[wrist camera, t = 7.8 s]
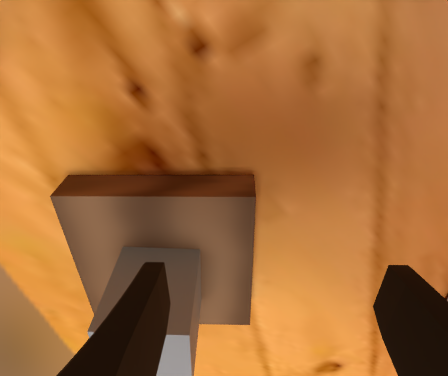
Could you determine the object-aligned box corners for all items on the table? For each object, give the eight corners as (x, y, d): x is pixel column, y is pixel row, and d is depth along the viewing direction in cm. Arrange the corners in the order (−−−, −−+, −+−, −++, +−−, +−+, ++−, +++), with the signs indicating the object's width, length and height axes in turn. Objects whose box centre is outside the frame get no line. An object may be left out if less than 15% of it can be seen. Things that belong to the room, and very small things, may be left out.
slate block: (200, 249, 21) (189, 335, 16) (201, 299, 23) (192, 387, 18) (123, 246, 21) (87, 331, 16) (132, 297, 23) (105, 384, 18)
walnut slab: (253, 171, 21) (255, 197, 18) (248, 293, 27) (249, 324, 25) (71, 170, 21) (50, 196, 19) (109, 291, 28) (97, 322, 25)
